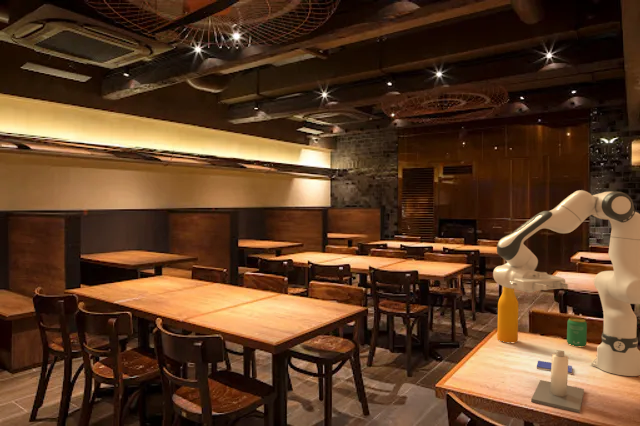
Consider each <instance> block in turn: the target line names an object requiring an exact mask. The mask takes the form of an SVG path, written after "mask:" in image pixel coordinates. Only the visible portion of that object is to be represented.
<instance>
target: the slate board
mask: <svg viewBox="0 0 640 426" xmlns="http://www.w3.org/2000/svg"><path fill="white" fill-rule="evenodd" d="M550 387H551V381H547V380H544V379H543V380H542V379H541V380H540V379H539V382H538V384H537V386H536V388H535V390H534V392H533V394H532V397H531V403H535V404H539V405H544V406H547V407H552V408H557V409H562V410H565V411H570V412H574V413H578V414H580V412H581V407H582V402H583V398H584V395H585V393H584V392H585V389H584V388H582V387H577V386H572V385H568V384H567V396H565V397H560V396H556V395H553V394H551V393H550Z"/></svg>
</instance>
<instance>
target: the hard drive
mask: <svg viewBox="0 0 640 426" xmlns="http://www.w3.org/2000/svg"><path fill="white" fill-rule="evenodd" d="M551 365H552V362H549V361H543V360H537V364H536V369H537V370H541V371H542V370H543V371H548V372H549V371H550V372H551ZM568 375H573V365H569V364H568Z"/></svg>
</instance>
